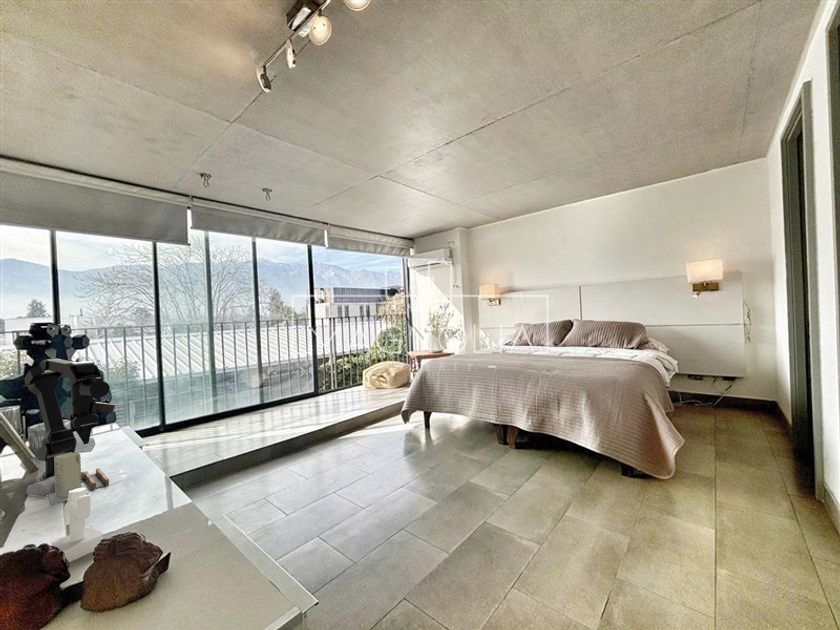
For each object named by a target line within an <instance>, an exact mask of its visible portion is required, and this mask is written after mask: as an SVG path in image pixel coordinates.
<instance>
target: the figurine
mask: <svg viewBox="0 0 840 630" xmlns="http://www.w3.org/2000/svg"><path fill="white" fill-rule="evenodd" d="M86 490H87V488H86V487H85V488H77V489H74V490H72V491H71V490H70V491H69V492H68V498H67V501H66V503H65V505H64V508H63V523H64V525H69V529H68V530H69V531H68V532H69V534H68V535H66V536H64V537H61V538H59V539H56V540H54V541H51V542H50V544H51V546H52V547H53V546H55V547H58V548H60V549H61V550H62V551H63V552H64V553H65V556H66V558H67V559H68V561H69V562H68V561H67V562H68V563H71V562H73V561H76V560H78V559H80V558H81V557H82V558H83V557H85V556H86V555H88V554H89V555H90V553H93V552H94V551H93V549H94V548H95V547H96V546H97V547H98V545H99V543H100V542H101V540H102V538H103V537H104V535H105V533H104V532H102V531H100V530H98V529H97V528H95V527H94V526H92V525H91V526H88V527H86V520H87V519H88V518H89V517H90V515H91V511H92V506H91V505H92V501H91V499H92V497H91V495H90V494H87V495H85V494H86ZM97 544H98V545H97ZM97 547H96V548H97Z"/></svg>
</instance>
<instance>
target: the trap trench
mask: <svg viewBox="0 0 840 630" xmlns="http://www.w3.org/2000/svg"><path fill="white" fill-rule="evenodd" d="M83 472H84V474H85V478H84V479H85V481H86V482H87V484H88V485H89V487H90V488H91V489H92V490H97V489H100V488H103V487H106V486H109V484H110V479H109V477H108V476H107V475H106V474H105V473H104V472H103V471H102V470H101V468H100V467H97V468H95V473H92V474H90V473H89V471H88V470H85V471H83Z"/></svg>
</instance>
